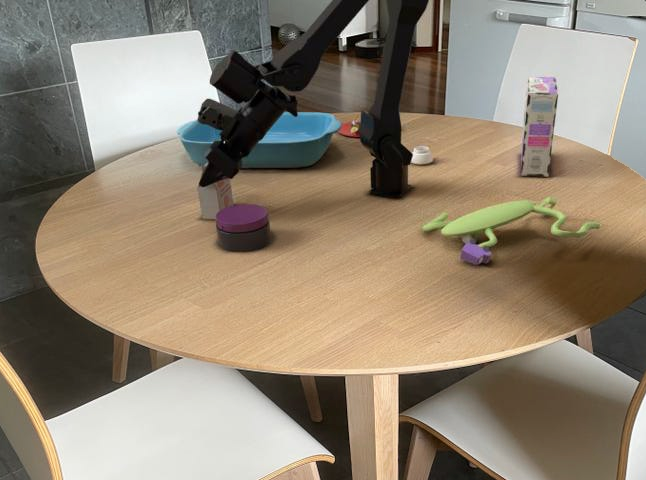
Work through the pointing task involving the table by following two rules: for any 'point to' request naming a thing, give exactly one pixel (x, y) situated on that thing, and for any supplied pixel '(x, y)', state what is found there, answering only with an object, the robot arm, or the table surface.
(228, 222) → the jar lid
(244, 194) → the table surface
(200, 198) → the paper tea packet
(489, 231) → the figurine
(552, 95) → the candy box
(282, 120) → the casserole dish
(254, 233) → the jar
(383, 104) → the robot arm
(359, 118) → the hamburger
